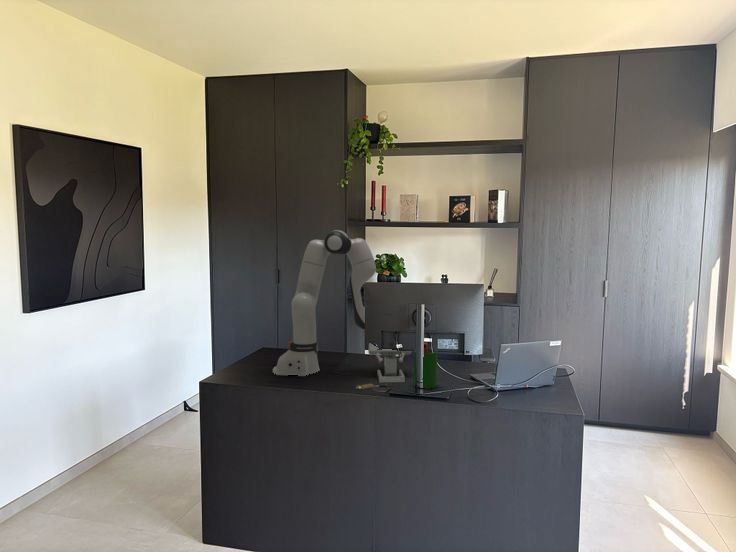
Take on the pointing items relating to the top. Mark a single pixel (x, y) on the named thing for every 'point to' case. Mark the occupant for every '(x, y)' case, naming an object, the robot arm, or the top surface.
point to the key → (364, 386)
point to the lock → (390, 365)
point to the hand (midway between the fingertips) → (390, 362)
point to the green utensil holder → (428, 368)
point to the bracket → (391, 377)
